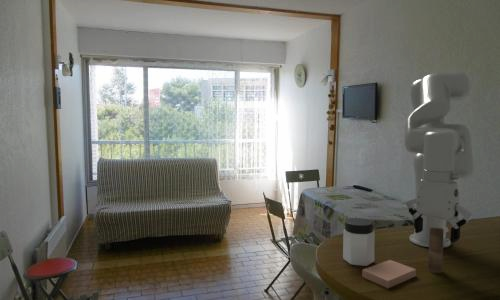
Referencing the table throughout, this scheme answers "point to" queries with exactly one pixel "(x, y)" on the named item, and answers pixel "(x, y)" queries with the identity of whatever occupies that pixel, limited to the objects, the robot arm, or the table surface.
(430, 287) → the table surface
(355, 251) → the jar
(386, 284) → the tile
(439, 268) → the stick
